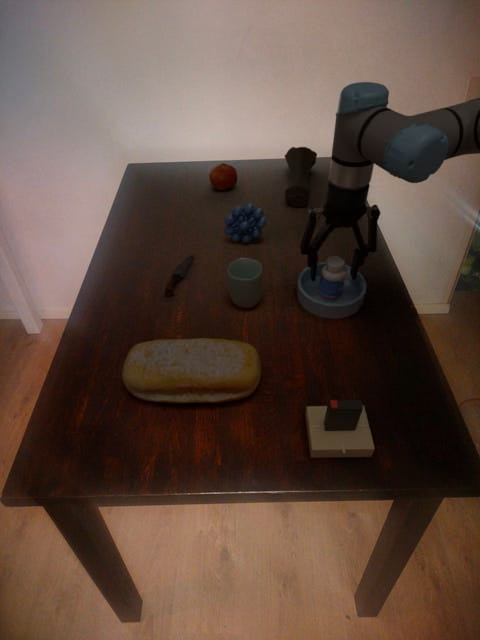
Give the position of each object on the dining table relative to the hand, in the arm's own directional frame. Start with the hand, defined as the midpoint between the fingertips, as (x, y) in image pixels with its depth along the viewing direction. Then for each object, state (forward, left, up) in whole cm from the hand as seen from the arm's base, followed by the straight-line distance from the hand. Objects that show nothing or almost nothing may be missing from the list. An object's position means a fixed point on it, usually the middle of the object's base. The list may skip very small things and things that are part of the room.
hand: (332, 276), depth 87 cm
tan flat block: (-18, +31, -6) cm, 36 cm away
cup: (+15, +13, -6) cm, 21 cm away
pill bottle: (0, 0, -6) cm, 6 cm away
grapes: (+30, -7, -6) cm, 31 cm away
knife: (+35, +15, -6) cm, 39 cm away
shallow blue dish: (0, 0, -6) cm, 6 cm away
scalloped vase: (+34, -42, -6) cm, 54 cm away
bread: (+10, +37, -6) cm, 39 cm away
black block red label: (-18, +31, -3) cm, 36 cm away
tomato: (+55, -28, -6) cm, 62 cm away
